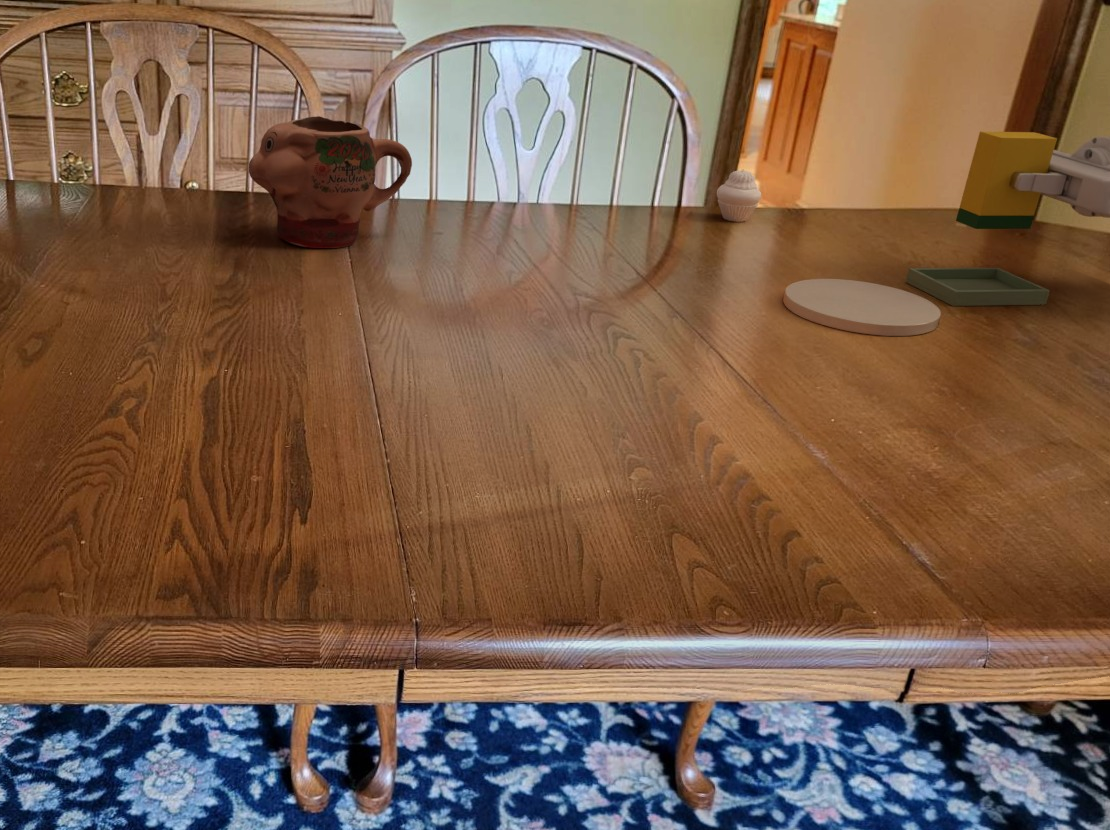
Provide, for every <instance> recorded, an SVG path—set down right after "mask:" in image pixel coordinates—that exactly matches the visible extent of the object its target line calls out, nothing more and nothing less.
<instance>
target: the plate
mask: <svg viewBox="0 0 1110 830" xmlns="http://www.w3.org/2000/svg"><path fill="white" fill-rule="evenodd" d="M782 301H783V304H784V306H785V307H786V308H787V309H788V310H789V311H790V312H791V313H793V314H795V315H797V316H799V317H801V318H803V319H804V320H808V321H810V322H813V323H816V324H818V325H822V326H825V327H828V328H833V329H837V330H840V331H845V332H851V333H857V334H862V335H863V334H864V335H872V336H882V337H883V336H884V337H885V336H886V337H908V336H919V335H924V334H928V333H931V332H932V331H934V330H935V329H937V328H938V326H939V324H940V320H941V316H942V311H941V309H940V308H939V307H938V306H937V305H936V304H935V303H933V302H931V301H930V300H929V299H926V298H925V297H923V296H921V295H917V294H915V293H912V292H909V291H907V290H903V289H900V288H896V287H892V286H888V285H883V284H880V283H873V282H868V281H862V280H861V281H860V280H853V279H842V278H841V279H839V278H812V279H811V278H810V279H803V280H799V281H795V282H793V283H790V284H788V285H787V286H786V288H785V289H784V293H783V298H782Z"/></svg>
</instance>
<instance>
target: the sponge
mask: <svg viewBox="0 0 1110 830" xmlns="http://www.w3.org/2000/svg"><path fill="white" fill-rule="evenodd" d="M978 133H979V134H978V137H977V139H976V140H977V141H976V145H975V147H974V152H973V155H972V159H971V163H970V167H969V170H968V174H967V179H966V182H965V185H964V190H963V193H962V196H961V200H960V203H959V204H960V205H959V208H958V210H957V215H956V217H955V221H956V222H958V223H960V224H962V225H965V226H968V227H970V228H972V229H974V230H1030V229H1031V227H1032V224H1033V221H1034V218H1035V214H1036V211H1037V208H1038V204H1039V201H1040V197H1041V193H1039V192H1034V191H1019V190H1016V189H1013V188H1011V187H1010V186H1009V183H1010V181H1011V176H1012V174H1013V173H1014V172H1029V173H1045V174H1047V171H1048V168H1049V164H1050V161H1051V158H1052V154H1053V151H1054V150H1055V147H1056V143H1057V140H1058V138H1057V137H1053V136H1050V135H1046V134H1042V133H1038V132H1035V131H982V130H981V131H979V132H978Z"/></svg>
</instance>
